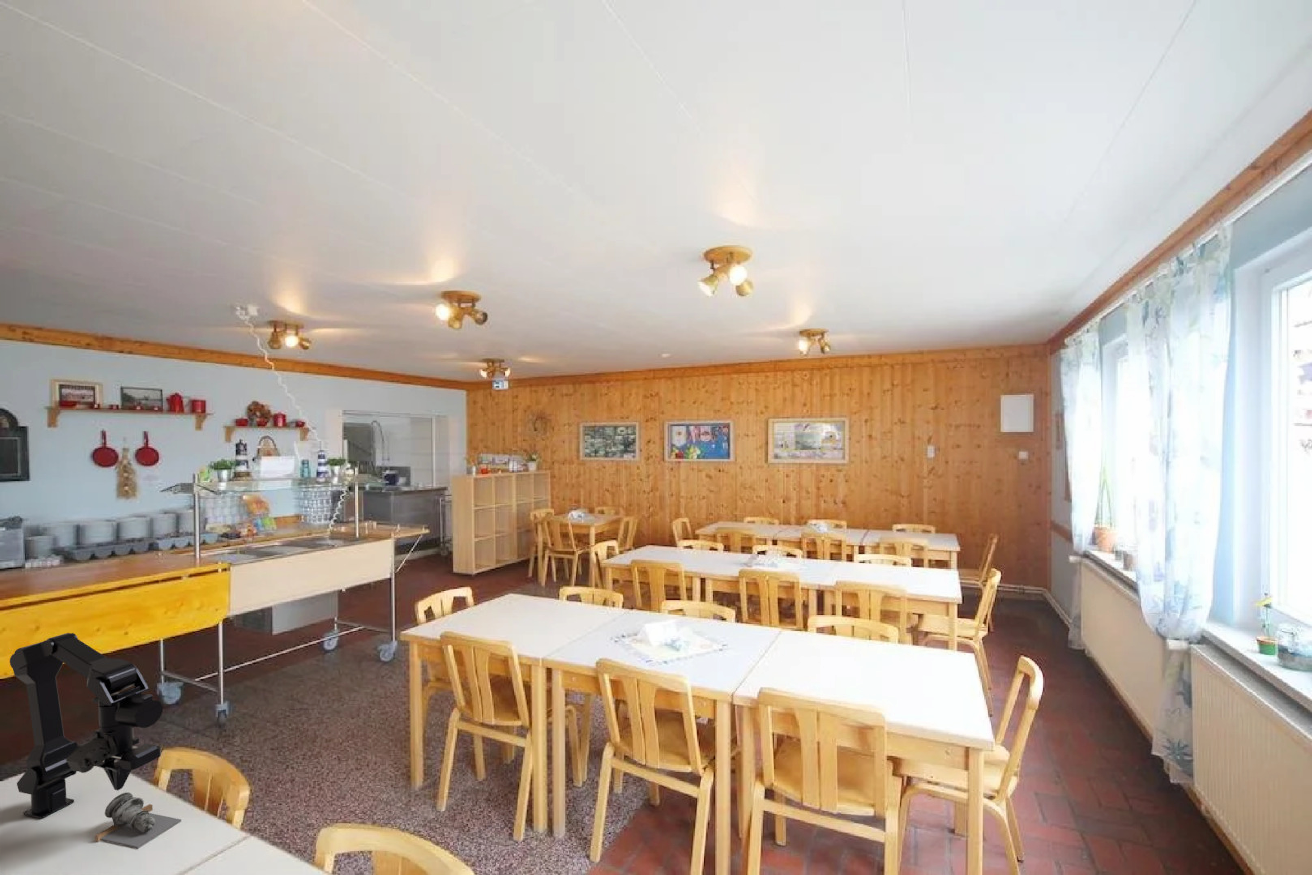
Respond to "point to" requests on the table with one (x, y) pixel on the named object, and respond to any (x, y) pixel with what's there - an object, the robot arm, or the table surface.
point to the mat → (138, 838)
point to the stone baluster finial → (129, 812)
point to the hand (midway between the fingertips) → (118, 789)
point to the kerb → (113, 827)
